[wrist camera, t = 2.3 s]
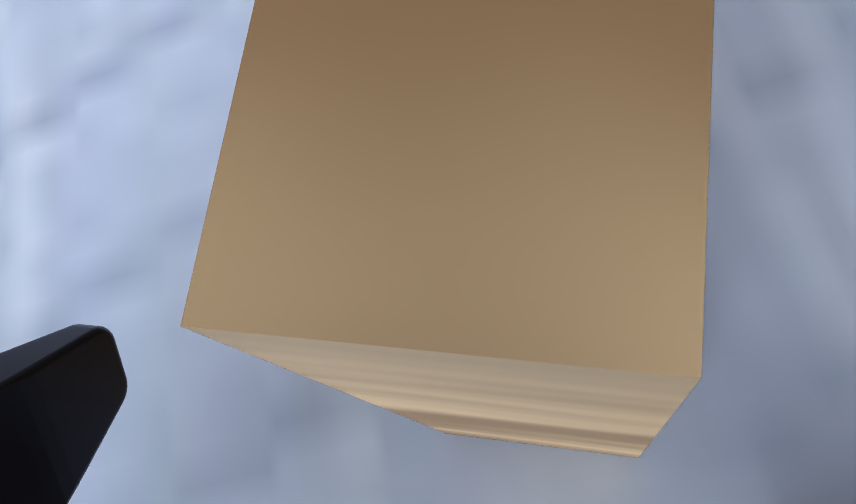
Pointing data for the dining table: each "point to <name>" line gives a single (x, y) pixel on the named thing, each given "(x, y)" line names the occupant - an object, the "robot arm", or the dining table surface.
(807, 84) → the dining table surface
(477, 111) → the oak post
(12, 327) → the dining table surface
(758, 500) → the dining table surface
